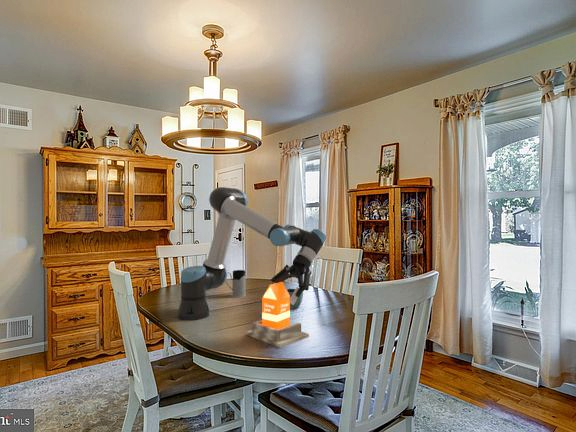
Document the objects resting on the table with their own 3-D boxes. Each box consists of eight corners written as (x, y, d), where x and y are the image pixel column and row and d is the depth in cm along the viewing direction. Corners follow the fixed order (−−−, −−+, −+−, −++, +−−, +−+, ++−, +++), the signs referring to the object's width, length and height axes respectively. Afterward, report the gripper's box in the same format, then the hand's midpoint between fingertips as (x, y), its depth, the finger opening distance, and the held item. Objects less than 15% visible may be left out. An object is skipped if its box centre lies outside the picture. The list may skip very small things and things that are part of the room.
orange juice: (261, 333, 141) (261, 284, 141) (275, 327, 148) (275, 280, 148) (277, 337, 137) (277, 286, 137) (290, 331, 144) (290, 282, 144)
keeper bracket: (246, 334, 143) (246, 322, 143) (274, 325, 155) (274, 314, 155) (280, 347, 129) (280, 333, 129) (308, 336, 141) (308, 323, 140)
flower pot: (300, 310, 180) (300, 292, 180) (284, 309, 182) (284, 292, 182) (303, 305, 188) (303, 289, 188) (287, 305, 190) (287, 288, 190)
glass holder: (241, 297, 206) (241, 272, 206) (221, 295, 212) (221, 271, 212) (248, 294, 215) (248, 270, 215) (228, 292, 220) (228, 269, 220)
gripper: (330, 267, 145) (306, 311, 135) (288, 262, 163) (264, 299, 153) (322, 256, 142) (296, 299, 131) (280, 251, 159) (254, 289, 149)
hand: (279, 299), depth 142 cm, fingers open, 13 cm apart
